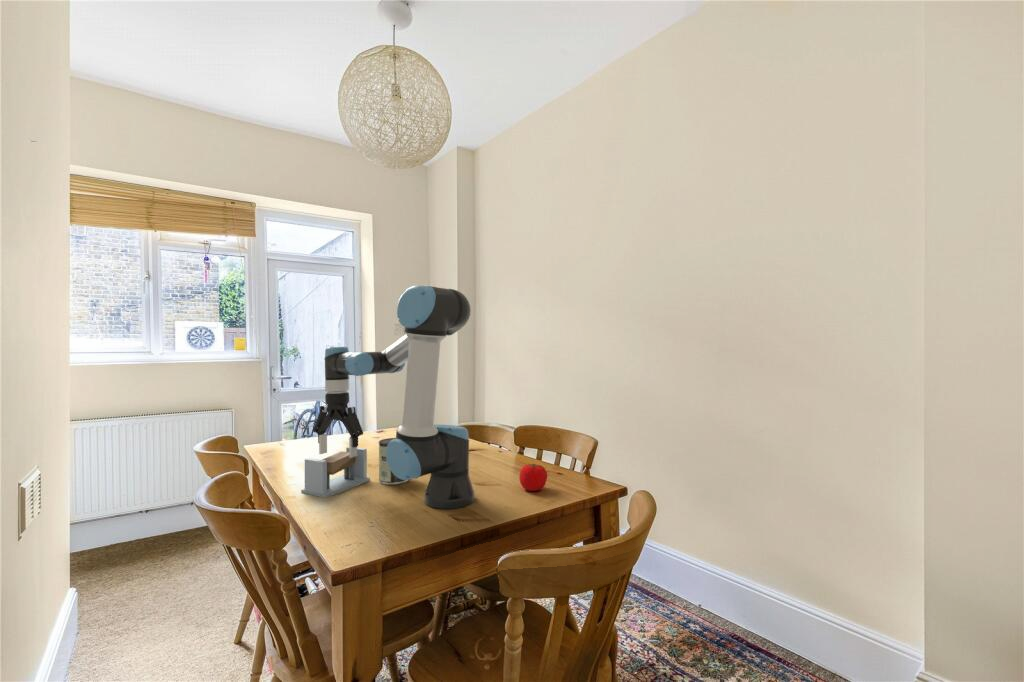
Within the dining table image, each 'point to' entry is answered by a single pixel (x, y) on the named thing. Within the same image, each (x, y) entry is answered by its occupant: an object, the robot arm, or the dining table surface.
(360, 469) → the peg cradle
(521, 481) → the tomato
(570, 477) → the dining table surface
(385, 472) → the coffee can
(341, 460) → the shelf board
